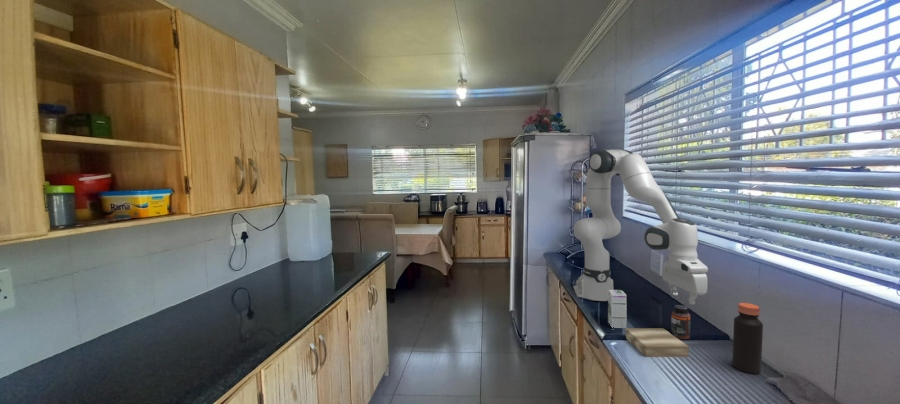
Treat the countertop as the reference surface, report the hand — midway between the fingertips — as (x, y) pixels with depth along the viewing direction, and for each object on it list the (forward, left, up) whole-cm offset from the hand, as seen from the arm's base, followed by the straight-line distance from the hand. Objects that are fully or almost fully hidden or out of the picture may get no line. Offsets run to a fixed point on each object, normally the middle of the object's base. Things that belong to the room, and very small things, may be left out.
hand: (682, 299), depth 127 cm
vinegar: (+22, +6, -15) cm, 27 cm away
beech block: (+8, -14, -15) cm, 22 cm away
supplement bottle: (0, 0, -15) cm, 15 cm away
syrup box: (-8, -20, -15) cm, 26 cm away
